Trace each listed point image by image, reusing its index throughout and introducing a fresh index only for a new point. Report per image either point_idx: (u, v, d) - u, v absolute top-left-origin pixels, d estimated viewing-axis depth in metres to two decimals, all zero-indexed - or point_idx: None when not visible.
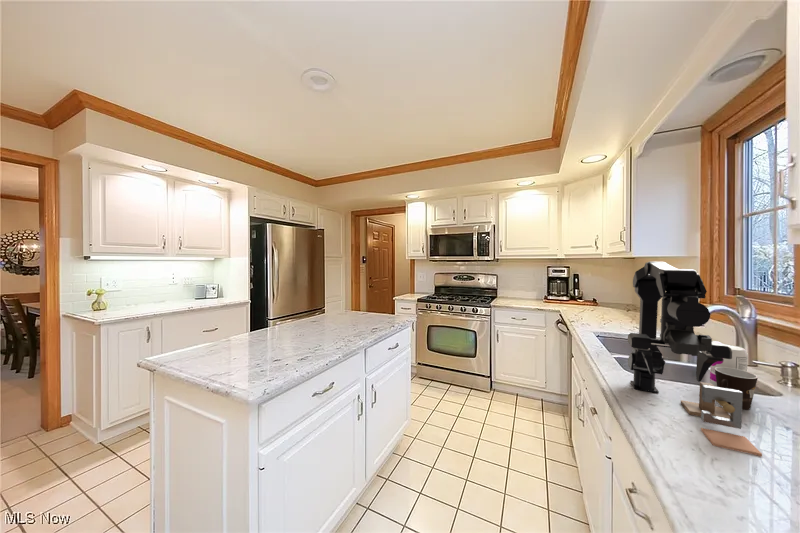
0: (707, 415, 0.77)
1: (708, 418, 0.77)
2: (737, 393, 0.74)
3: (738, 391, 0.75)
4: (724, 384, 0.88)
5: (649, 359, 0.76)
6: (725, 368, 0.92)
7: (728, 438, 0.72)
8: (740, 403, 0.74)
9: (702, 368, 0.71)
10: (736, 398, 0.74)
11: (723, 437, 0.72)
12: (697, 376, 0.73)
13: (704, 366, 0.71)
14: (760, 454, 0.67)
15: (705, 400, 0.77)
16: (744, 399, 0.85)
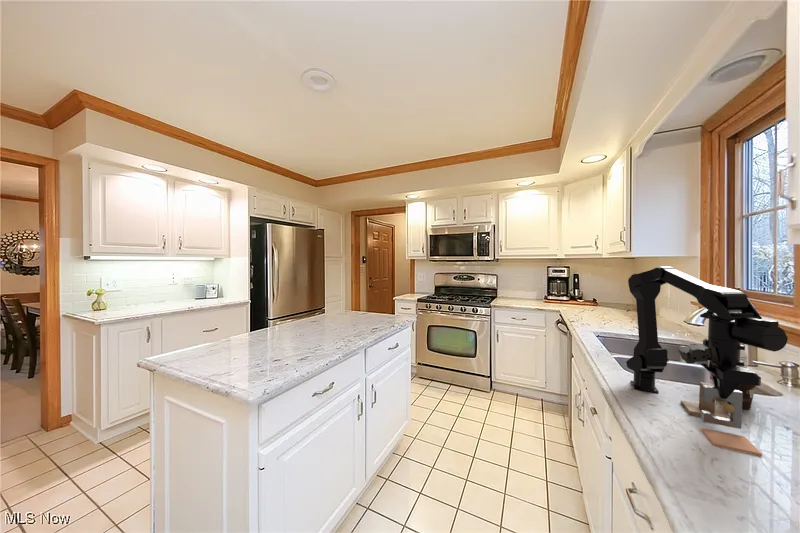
0: (707, 415, 0.77)
1: (708, 418, 0.77)
2: (737, 393, 0.74)
3: (738, 391, 0.75)
4: None
5: (712, 377, 0.78)
6: None
7: (728, 438, 0.72)
8: (740, 403, 0.74)
9: (718, 384, 0.76)
10: (736, 398, 0.74)
11: (723, 437, 0.72)
12: None
13: (718, 381, 0.75)
14: (760, 454, 0.67)
15: (705, 400, 0.77)
16: (744, 399, 0.85)
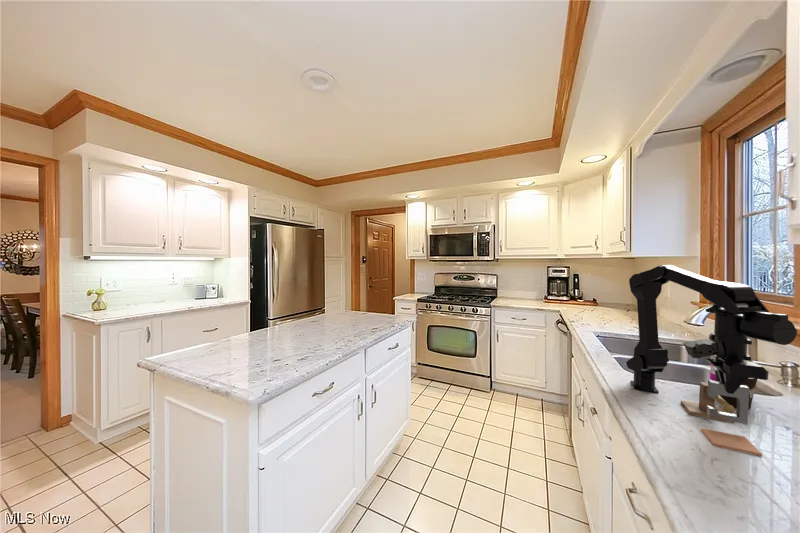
0: (713, 411, 0.77)
1: (714, 414, 0.76)
2: (743, 388, 0.74)
3: (744, 386, 0.74)
4: None
5: (718, 372, 0.77)
6: None
7: (728, 438, 0.72)
8: (747, 398, 0.73)
9: (724, 378, 0.75)
10: (743, 394, 0.74)
11: (723, 437, 0.72)
12: None
13: (725, 376, 0.75)
14: (760, 454, 0.67)
15: (711, 395, 0.77)
16: None
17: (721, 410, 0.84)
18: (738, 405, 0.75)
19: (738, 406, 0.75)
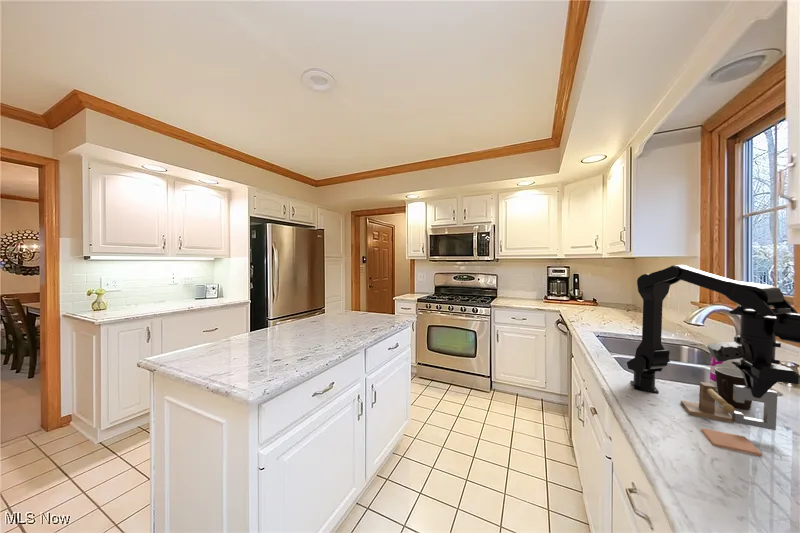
0: (739, 416, 0.74)
1: (739, 419, 0.74)
2: (771, 393, 0.71)
3: (772, 391, 0.72)
4: (724, 384, 0.88)
5: (744, 375, 0.75)
6: (725, 368, 0.92)
7: (728, 438, 0.72)
8: (775, 403, 0.71)
9: (751, 382, 0.73)
10: (770, 399, 0.71)
11: (723, 437, 0.72)
12: None
13: (751, 380, 0.72)
14: (760, 454, 0.67)
15: (737, 400, 0.74)
16: None
17: (721, 410, 0.84)
18: (765, 411, 0.72)
19: (765, 411, 0.72)
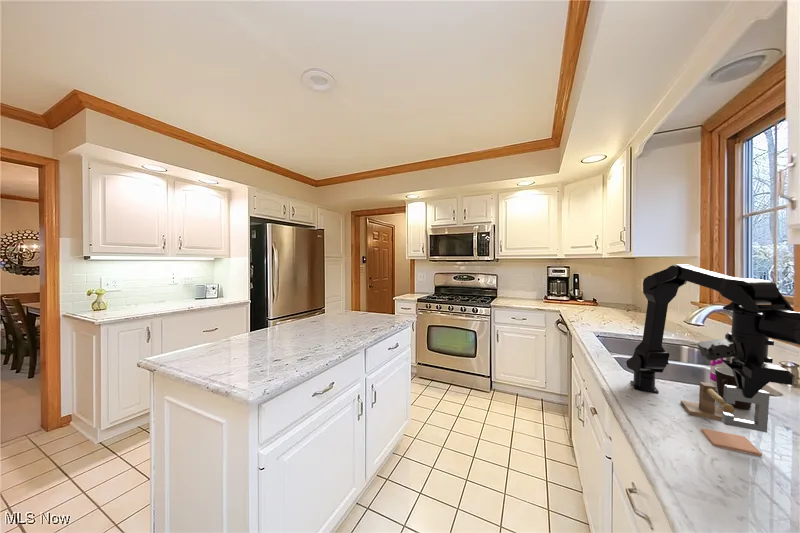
0: (729, 417, 0.71)
1: (730, 421, 0.71)
2: (763, 394, 0.68)
3: (764, 391, 0.68)
4: (724, 384, 0.88)
5: (735, 375, 0.72)
6: (725, 368, 0.92)
7: (728, 438, 0.72)
8: (766, 405, 0.68)
9: (742, 382, 0.69)
10: (762, 400, 0.68)
11: (723, 437, 0.72)
12: None
13: (743, 379, 0.69)
14: (760, 454, 0.67)
15: (727, 401, 0.71)
16: None
17: (721, 410, 0.84)
18: (757, 412, 0.69)
19: (756, 413, 0.69)
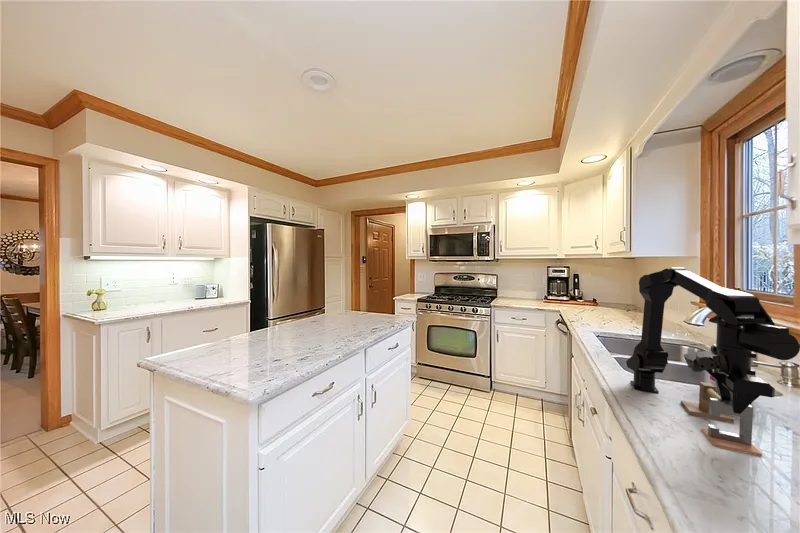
0: (714, 430, 0.72)
1: (715, 434, 0.72)
2: (747, 407, 0.69)
3: None
4: None
5: (717, 383, 0.75)
6: None
7: None
8: (750, 418, 0.69)
9: (731, 397, 0.69)
10: (746, 413, 0.69)
11: None
12: None
13: (731, 395, 0.69)
14: (760, 454, 0.67)
15: (712, 414, 0.72)
16: None
17: None
18: (741, 425, 0.70)
19: (741, 426, 0.70)
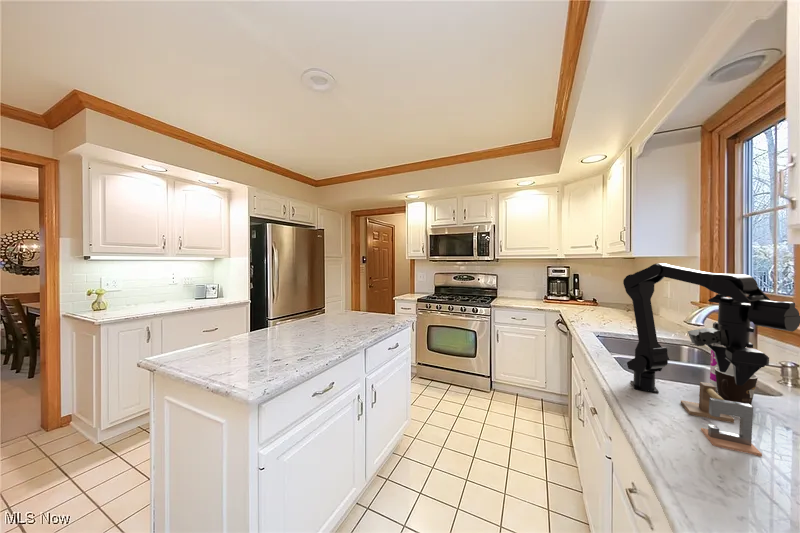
0: (714, 430, 0.72)
1: (715, 434, 0.72)
2: (747, 407, 0.69)
3: (748, 405, 0.70)
4: (724, 384, 0.88)
5: (715, 355, 0.83)
6: None
7: None
8: (750, 418, 0.69)
9: (734, 370, 0.75)
10: (746, 413, 0.69)
11: None
12: None
13: (734, 368, 0.74)
14: (760, 454, 0.67)
15: (712, 414, 0.72)
16: (744, 399, 0.85)
17: None
18: (741, 425, 0.70)
19: (741, 426, 0.70)
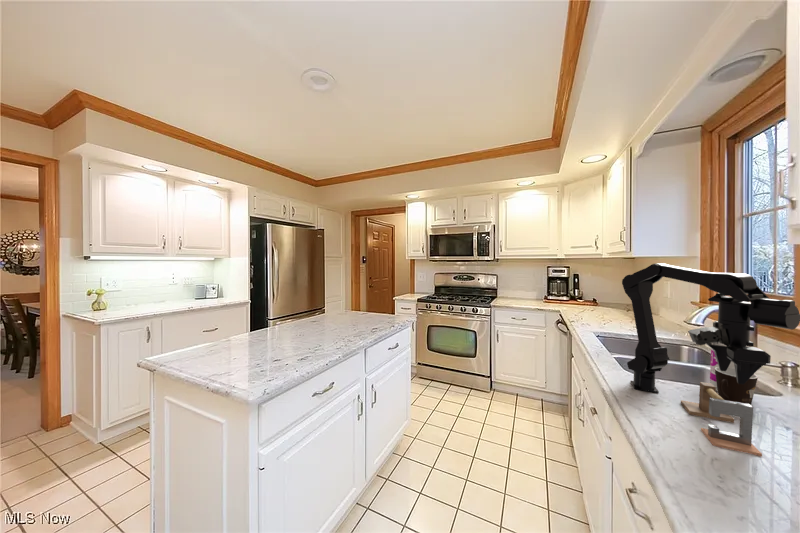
0: (714, 430, 0.72)
1: (715, 434, 0.72)
2: (747, 407, 0.69)
3: (748, 405, 0.70)
4: (724, 384, 0.88)
5: (716, 354, 0.84)
6: None
7: None
8: (750, 418, 0.69)
9: (735, 369, 0.75)
10: (746, 413, 0.69)
11: None
12: None
13: (736, 367, 0.75)
14: (760, 454, 0.67)
15: (712, 414, 0.72)
16: (744, 399, 0.85)
17: None
18: (741, 425, 0.70)
19: (741, 426, 0.70)
